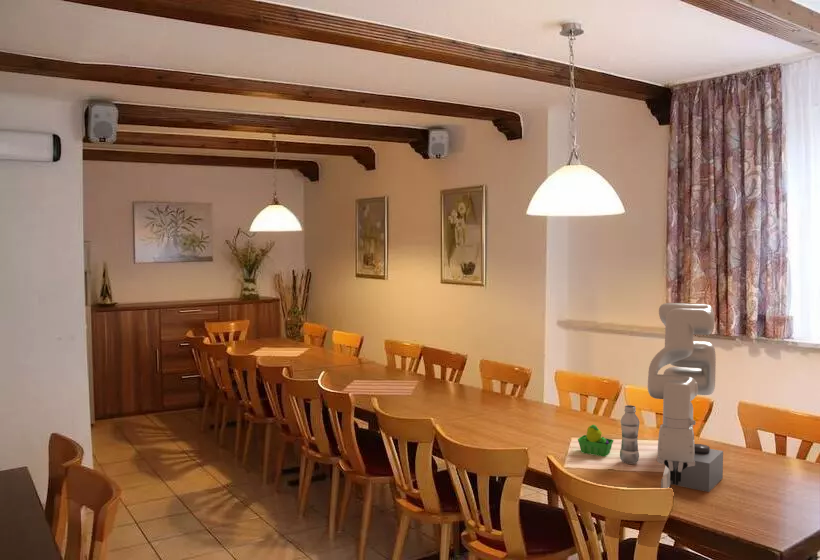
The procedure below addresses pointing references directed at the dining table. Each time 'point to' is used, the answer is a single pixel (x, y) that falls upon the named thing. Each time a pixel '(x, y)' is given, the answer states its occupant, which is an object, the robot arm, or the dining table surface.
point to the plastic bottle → (629, 436)
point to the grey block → (702, 469)
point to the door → (666, 478)
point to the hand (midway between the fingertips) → (675, 483)
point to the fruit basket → (595, 442)
